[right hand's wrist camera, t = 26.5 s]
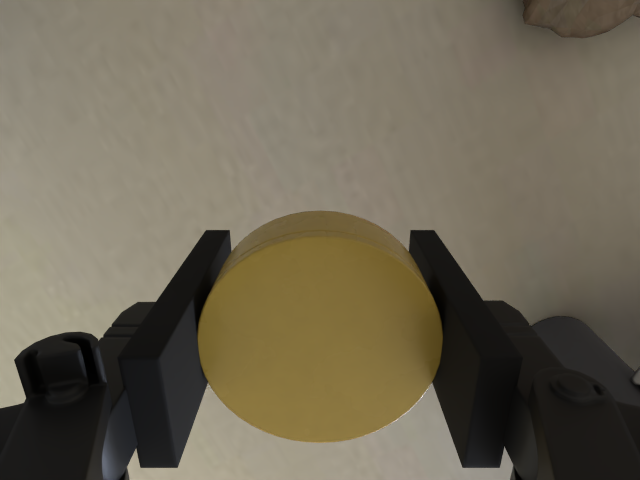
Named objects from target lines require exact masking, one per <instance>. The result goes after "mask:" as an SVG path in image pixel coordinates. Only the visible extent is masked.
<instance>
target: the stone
mask: <svg viewBox="0 0 640 480" xmlns="http://www.w3.org/2000/svg"><path fill="white" fill-rule="evenodd" d="M523 2H524V6H525V10H524V13H523V19H524V23H525V24H529V25H534V26H539V27H542V28H549V29H551V30H553V31H554V32H555V33H557V34H558V35H559V36H561V37H575V38H586V37H592V36H595V35H599V34H602V33H605V32H608V31H610V30H611V29H613V28H614V27H616V26H618V25H619V24H621V23H622V22H624V21H625V20H627V19H628V18H629V17H631V16H632V15H634V16H637V17H640V0H523Z"/></svg>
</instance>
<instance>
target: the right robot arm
mask: <svg viewBox="0 0 640 480" xmlns="http://www.w3.org/2000/svg"><path fill="white" fill-rule="evenodd" d="M230 253H231V241H230V230H206V231H205V232H204V234H203V235H202V237H201V238H200V240H199V241H198V243H197V244H196V245H195V247H194V248H193V250H192V251H191V253H190V254H189V255H188V257H187V258H186V260H185V261H184V263H183V264H182V265H181V267H180V268H179V270H178V271H177V273H176V274H175V275H174V277H173V278H172V280H171V281H170V283H169V284H168V285H167V287H166V288H165V290H164V291H163V293H162V294H161V296H160V297H159V298H158V300H157V301H156V302H137V303H136V304H134V305H133V306H131V307H129V308H128V309H126V310H125V311H123V312H122V313H121V314H120V315H119V316H118V318H117V319H116V320H115V321H114V323H113V324H112V327H109V329H108V330H107V331H106V332H105V334H104V336H103V338H101V339H100V340H99V341H98V339H97V338H96V337H95V336H93V335H92V334H89V333H84V332H67V333H62V334H58V335H54V336H50V337H47V338H45V339H43V340H40V341H38V342H35V343H34V344H32V345H31V346H29V347H27V348H26V349H24V350H23V351H22V352H21V353H20V354H19V355H18V356H17V357H16V359H15V360H14V361H15V364H16V367H17V370H18V373H19V377H20V380H21V383H22V386H23V389H24V392H25V395H26V400H25V402H24V403H22V404H18V405H14V406H10V407H5V408H0V480H129V474H128V470H127V466H128V464H129V461H130V459H131V457H132V455H133V453H134V451H135V449H137V453H138V458H139V463H140V467H141V468H178V465H179V462H180V459H181V457H182V454H183V451H184V448H185V445H186V443H187V440H188V437H189V434H190V431H191V429H192V426H193V423H194V420H195V417H196V414H197V412H198V409H199V406H200V403H201V400H202V398H203V395H204V392H205V389H206V386H207V384H208V381H207V379H206V377H205V375H204V372H203V369H202V367H201V364H200V357H199V349H198V341H197V331H198V322H199V319H200V315H201V311H202V308H203V306H204V304H205V302H206V299H207V297H208V295H209V293H210V291H211V289H212V287H213V285H214V283H215V281H216V279H217V277H218V275H219V272H220V270H221V268H222V266H223V264H224V263H225V261H226V259H227V258H228V256H229V255H230ZM409 253H410V255H411V256H412V258H413V259H414V261H415V262H416V264H417V266H418V268H419V270H420V272H421V274H422V276H423V278H424V280H425V282H426V284H427V286H428V288H429V290H430V292H431V294H432V296H433V299H434V301H435V303H436V305H437V308H438V310H439V314H440V318H441V321H442V328H443V343H442V351H441V358H440V364H439V367H438V370H437V373H436V375H435V377H434V379H433V381H432V383H433V386H434V388H435V391H436V394H437V397H438V400H439V402H440V405H441V408H442V411H443V414H444V417H445V419H446V422H447V425H448V428H449V431H450V433H451V436H452V439H453V442H454V445H455V447H456V450H457V453H458V456H459V459H460V462H461V464H462V467H463V468H500V464H501V459H502V455H503V450H504V446H505V448H506V450H507V452H508V454H509V457H510V459H511V461H512V463H513V470H512V474H511V478H510V480H640V406H635V405H630V404H625V403H622V402H618V401H615V399H614V397H613V396H612V395H611V393H610V392H609V391H608V389H607V388H606V387H605V386H603V385H602V384H601V383H599V382H598V381H597V380H595V379H594V378H592V377H590V376H588V375H586V374H583V373H581V372H579V371H575V370H571V369H568V368H565V367H564V366H563V365H562V363H561V362H560V361H559V360H558V358H557V357H556V356H555V355H554V353H553V352H552V351H551V350H550V349H549V347H548V346H547V345H546V344H545V342H544V341H543V340H542V339H541V338H540V336H537V333H536V331H535V330H534V329H533V328H532V326H529V323H528V322H527V320H526V319H525V318H524V317H523V315H522V314H521V313H520V312H519V311H518V310H516V309H515V308H513V307H512V306H510V305H509V304H507V303H505V302H504V301H483V299H482V298H481V297H480V295H479V294H478V292H477V291H476V289H475V288H474V287H473V285H472V284H471V282H470V281H469V279H468V278H467V276H466V275H465V274H464V272H463V271H462V269H461V268H460V266H459V265H458V264H457V262H456V261H455V259H454V258H453V256H452V255H451V254H450V252H449V251H448V249H447V248H446V246H445V245H444V244H443V242H442V241H441V239H440V238H439V236H438V235H437V234H436V232H435V231H434V230H411V232H410V244H409Z"/></svg>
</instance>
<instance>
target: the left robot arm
mask: <svg viewBox="0 0 640 480" xmlns="http://www.w3.org/2000/svg"><path fill="white" fill-rule="evenodd" d="M630 379H631V381H632V382H633V383H634V384H636V385H638V386H640V367H639V368H638V369H637V371H636V372H635V373H634V374H633V375H632V376H631V378H630Z"/></svg>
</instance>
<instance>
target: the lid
mask: <svg viewBox="0 0 640 480" xmlns="http://www.w3.org/2000/svg"><path fill="white" fill-rule="evenodd" d="M197 341H198V349H199V357H200V364H201V367H202V369H203V372H204V375H205V377H206V379H207V381H208V383H209V384H210V386H211V388H212V389H213V391H214V392H215V394H216V395H217V396H218V398H219V399H220V400H221V401H222V402H223V403H224V404H225V405H226V406H227V407H228V408H229V409H230V410H231V411H232V412H233V413H235V414H236V415H237V416H238V417H239V418H241V419H243V420H244V421H246V422H247V423H249V424H250V425H252V426H254V427H256V428H258V429H260V430H262V431H264V432H267V433H270V434H272V435H275V436H278V437H282V438H286V439H290V440H295V441H302V442H315V443H325V442H338V441H345V440H350V439H354V438H358V437H362V436H365V435H368V434H370V433H373V432H376V431H378V430H380V429H382V428H384V427H386V426H388V425H390V424H391V423H393V422H394V421H396V420H398V419H399V418H401V417H402V416H403V415H404V414H406V413H407V412H408V411H409V410H410V409H412V408H413V407H414V405H415V404H416V403H417V402H418V401H419V400H420V399H421V398H422V397H423V395H424V394H425V392H426V391H427V390H428V388H429V387H430V385H431V383H432V381H433V379H434V377H435V375H436V373H437V370H438V367H439V364H440V358H441V351H442V343H443V328H442V321H441V318H440V314H439V310H438V308H437V305H436V303H435V301H434V299H433V296H432V294H431V292H430V290H429V288H428V286H427V284H426V282H425V280H424V278H423V276H422V274H421V272H420V270H419V268H418V266H417V264H416V262H415V261H414V259H413V258H412V256H411V255H410V253H409V252H408V251H407V249H406V248H405V247H404V246H403V245H402V244H401V243H400V242H399V241H398V240H397V239H396V238H395V237H394V236H392V235H391V234H390V233H389V232H387V231H386V230H384V229H382V228H381V227H379V226H378V225H376V224H374V223H372V222H369V221H367V220H365V219H362V218H359V217H356V216H353V215H350V214H345V213H340V212H332V211H308V212H301V213H295V214H290V215H287V216H284V217H281V218H278V219H275V220H273V221H271V222H269V223H267V224H264V225H262V226H261V227H259V228H258V229H256V230H255V231H253V232H252V233H250V234H249V235H248V236H247V237H246V238H244V239H243V240H242V241H241V242H240V243H239V244H238V245H237V246H236V247H235V249H234V250H233V251H232V252H231V253H230V255H229V256H228V258H227V259H226V261H225V263H224V264H223V266H222V268H221V270H220V272H219V275H218V277H217V279H216V281H215V283H214V285H213V287H212V289H211V291H210V293H209V295H208V297H207V299H206V302H205V304H204V306H203V308H202V311H201V315H200V319H199V322H198V331H197Z"/></svg>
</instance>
